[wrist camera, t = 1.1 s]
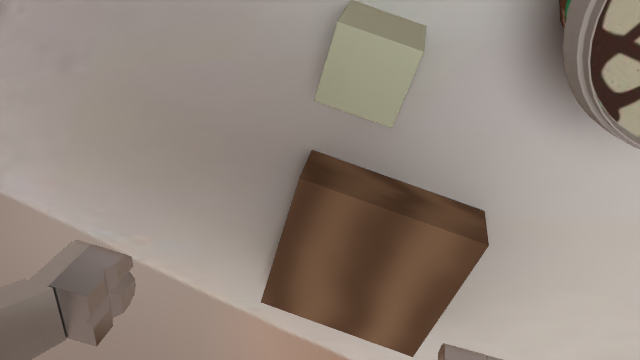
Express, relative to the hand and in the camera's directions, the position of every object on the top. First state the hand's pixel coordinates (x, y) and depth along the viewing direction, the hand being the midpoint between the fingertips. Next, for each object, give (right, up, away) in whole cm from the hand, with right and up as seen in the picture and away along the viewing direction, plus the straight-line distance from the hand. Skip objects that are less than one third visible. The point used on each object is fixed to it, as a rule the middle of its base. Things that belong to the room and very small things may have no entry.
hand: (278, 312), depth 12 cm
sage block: (+5, +12, +20) cm, 23 cm away
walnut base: (+5, -2, +29) cm, 29 cm away
